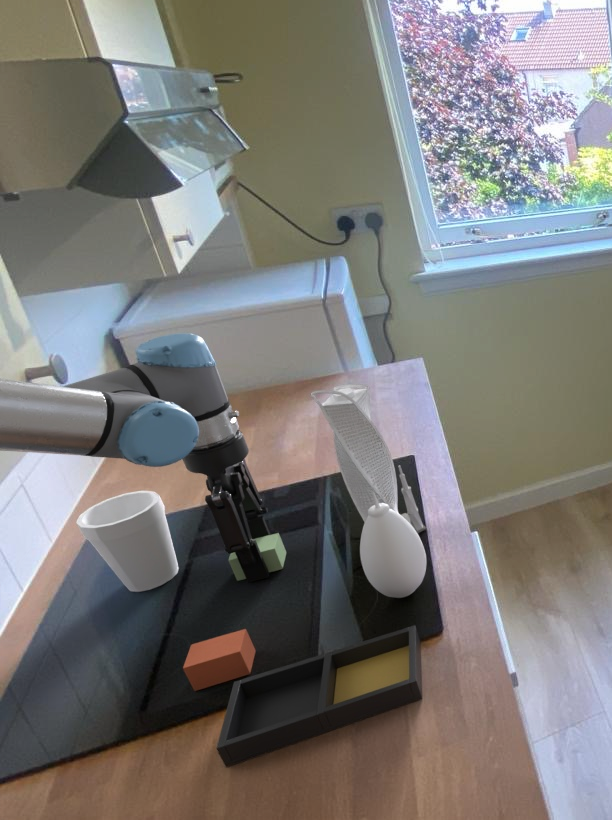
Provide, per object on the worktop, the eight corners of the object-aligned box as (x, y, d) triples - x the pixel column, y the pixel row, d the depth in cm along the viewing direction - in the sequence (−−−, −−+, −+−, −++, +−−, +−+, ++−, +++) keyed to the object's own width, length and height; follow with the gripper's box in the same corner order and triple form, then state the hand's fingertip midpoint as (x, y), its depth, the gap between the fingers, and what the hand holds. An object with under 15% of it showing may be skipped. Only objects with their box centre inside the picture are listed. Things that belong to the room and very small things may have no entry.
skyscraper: (375, 555, 117) (323, 399, 106) (352, 537, 122) (300, 386, 110) (426, 528, 123) (382, 379, 112) (402, 512, 128) (358, 367, 116)
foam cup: (200, 553, 119) (170, 485, 114) (177, 589, 111) (142, 519, 106) (130, 566, 116) (95, 498, 111) (101, 605, 108) (62, 533, 103)
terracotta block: (194, 691, 93) (182, 668, 92) (202, 667, 97) (191, 644, 95) (250, 674, 96) (239, 651, 94) (256, 650, 99) (246, 628, 98)
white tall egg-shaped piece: (363, 606, 107) (326, 503, 99) (403, 571, 114) (371, 473, 106) (407, 615, 105) (373, 511, 97) (445, 579, 112) (416, 480, 104)
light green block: (237, 581, 113) (228, 560, 111) (242, 564, 116) (233, 543, 115) (282, 568, 115) (274, 548, 113) (286, 552, 119) (278, 532, 117)
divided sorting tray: (225, 767, 83) (215, 748, 82) (242, 699, 92) (233, 681, 91) (422, 698, 91) (416, 680, 90) (420, 642, 100) (415, 625, 99)
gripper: (227, 462, 99) (282, 594, 109) (251, 405, 115) (297, 525, 125) (159, 477, 96) (221, 611, 106) (193, 416, 112) (244, 538, 122)
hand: (262, 564), depth 115 cm, fingers open, 6 cm apart
